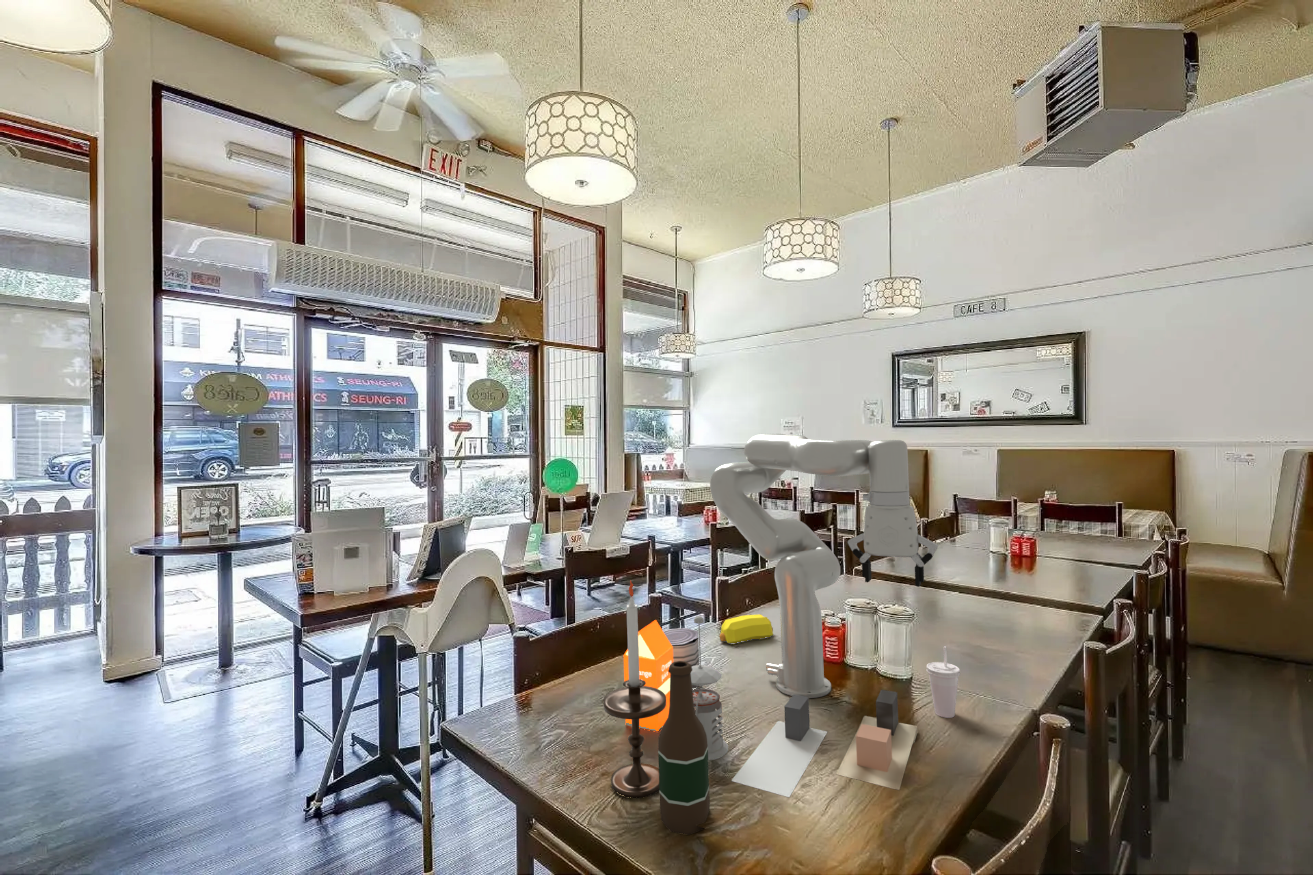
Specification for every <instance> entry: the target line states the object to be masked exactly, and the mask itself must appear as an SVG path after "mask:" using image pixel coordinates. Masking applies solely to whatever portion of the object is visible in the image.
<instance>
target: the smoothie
mask: <svg viewBox="0 0 1313 875" xmlns="http://www.w3.org/2000/svg"><path fill="white" fill-rule="evenodd" d="M947 652H948V651H947V646H945V645H944V646H943V661H933V662H929V663H927V664H926V669H925V670H926V672H927V673H928V679H929V684H930V691H931V697H932V702H933V708H934V713H935V715H936V716H937V717H942V718H947V719H949V718H953V717H955V715H956V705H957V693H958V686H959V676H961V670H960V668H959V667H958V666H957V665H955V664H952V663H949V662H948V655H947V654H948V653H947Z"/></svg>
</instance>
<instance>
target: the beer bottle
mask: <svg viewBox="0 0 1313 875" xmlns="http://www.w3.org/2000/svg"><path fill="white" fill-rule="evenodd" d="M668 672H669V673H670V706H669V714H668V718H667V720H666V722H665V723H664V725H663V727H662V729H661V730H660V731H659V736H658V745H657V746H658V747H657V756H658V768H659V791H658V792H659V811H660V820H661V822H662V823H663V825H664V826H665V828H667V829H668V830H669V832H670V833H674V834H682V835H686V836H690V835H692V834H696V833H698V832H701V831H703V830H706V829H705V827H702V826H699V825H701V824H703V823H706V821H707V819H708V816H709V812H710V809H711V807H710V806H711V802H710V801H711V800H710V799H711V798H710V774H709V772H710V771H709V769H710V767H709V760H708V744H707V735H706V732H705V729H704V727H703V725H702V723H701V722H700V720H699V719H698V718H697V716H696V714H695V710H696V708H695V707H694V703H693V693H692V682H691V672H692V666H691V664H689V663H688V662H685V661H677V662H673V663H671V665H670V666H669V670H668Z"/></svg>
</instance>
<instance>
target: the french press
mask: <svg viewBox="0 0 1313 875" xmlns="http://www.w3.org/2000/svg"><path fill="white" fill-rule="evenodd" d="M704 621H705V620H704V618H703V617H702V616H701V615H699V616H698V615H697V616H695V617H694V618H693V623H694V624H696V625H698V642H699V665H696V666H692V672H691V682H692V685H697V686H698V687H700V688H696V689H694V690H693V689H692V693H693V703H694V708H695V714H696V716H697V718H698V719H699V720H700V722H701V723H702V725H703V727H704V729H705V732H706V735H707V744H708V761H714V760H717V759H720V758H721V757H723V756H725V755H726V754H727V752H728V751H729V744H728V743H727V742H726V741H725V739H724V736H722V735H723V734H724V733H723V729H722V728H723V723H722V722H721V721H723V716H722V715H721V714H723V707H722V706H723V705H722V704H723V703H722V701H720V699H721V696H720V694H719V693H718V692H717V691H715V690H713V689H709V688H702V687H703V686H709V685H712V684H715V683H718V682H719V681H720V679H722V673H721V672H720V670H718V669H716V668H714V667H713V666H710V665H705V664H702V659H701V658H702V657H701V628H700V624H704ZM717 731H719V732H717Z"/></svg>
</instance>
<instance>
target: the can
mask: <svg viewBox="0 0 1313 875" xmlns="http://www.w3.org/2000/svg"><path fill="white" fill-rule="evenodd" d="M662 631H663V632H664V634H665V635H666V637H667V639H668V640H669V642H670V644H671V645H672V646H673V662H677V661H685V662H688V663H689V664H691V666H696V665H700V655H699V630H695V629H691V628H688V627H681V628H680V627H678V628H670V629H665V630H662ZM696 687H697V685H692V688H696ZM697 688H698V687H697ZM697 688H696V689H697Z"/></svg>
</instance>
